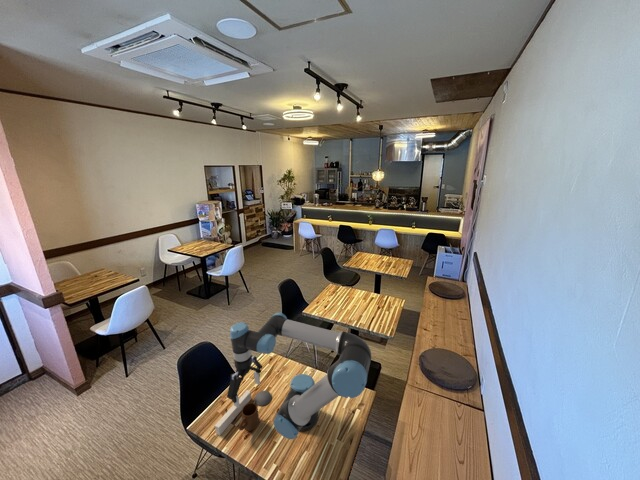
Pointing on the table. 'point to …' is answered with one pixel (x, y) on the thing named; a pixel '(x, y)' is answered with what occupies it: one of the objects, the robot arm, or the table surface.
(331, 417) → the table surface
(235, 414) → the board
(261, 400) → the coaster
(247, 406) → the mug
